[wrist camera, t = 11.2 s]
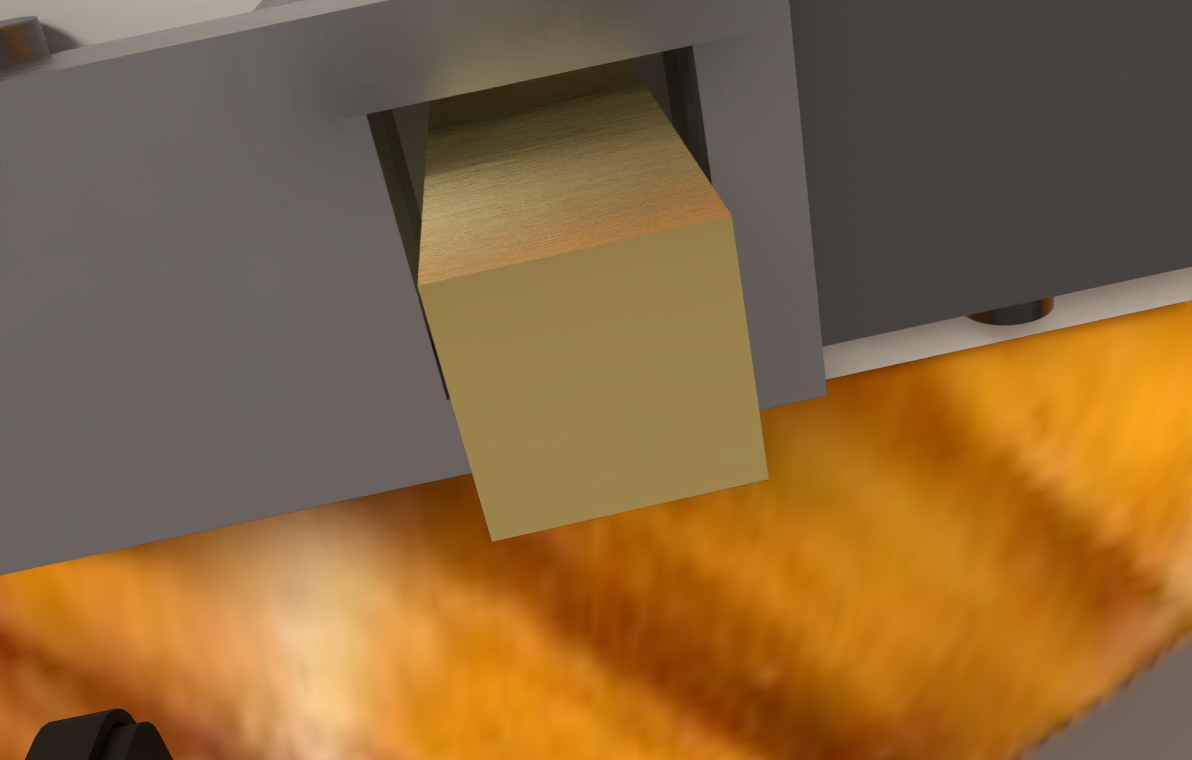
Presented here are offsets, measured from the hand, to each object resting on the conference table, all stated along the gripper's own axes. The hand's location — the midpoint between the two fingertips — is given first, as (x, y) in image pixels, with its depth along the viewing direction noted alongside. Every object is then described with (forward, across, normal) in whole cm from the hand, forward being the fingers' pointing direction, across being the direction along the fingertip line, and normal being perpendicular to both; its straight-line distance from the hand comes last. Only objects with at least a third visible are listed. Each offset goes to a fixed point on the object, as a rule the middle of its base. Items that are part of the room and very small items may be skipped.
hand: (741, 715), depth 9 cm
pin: (+16, +1, 0) cm, 16 cm away
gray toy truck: (+17, +1, 0) cm, 17 cm away
